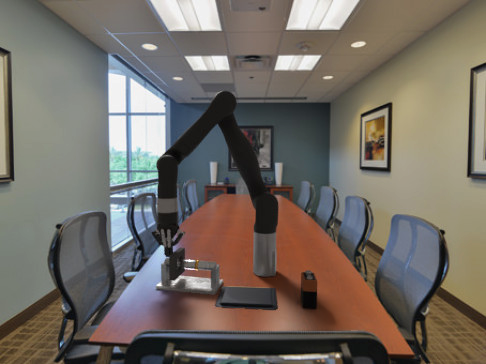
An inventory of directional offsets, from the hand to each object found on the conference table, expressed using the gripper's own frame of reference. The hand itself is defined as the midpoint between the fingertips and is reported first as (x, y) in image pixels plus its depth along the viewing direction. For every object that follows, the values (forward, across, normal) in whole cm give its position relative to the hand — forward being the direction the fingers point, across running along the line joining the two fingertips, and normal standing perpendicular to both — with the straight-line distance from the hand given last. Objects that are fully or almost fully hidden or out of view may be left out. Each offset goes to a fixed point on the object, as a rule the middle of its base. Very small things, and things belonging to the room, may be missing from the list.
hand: (168, 256), depth 102 cm
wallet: (+11, -30, +4) cm, 33 cm away
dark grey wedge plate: (+7, -4, 0) cm, 8 cm away
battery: (+11, -50, +4) cm, 52 cm away
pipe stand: (+10, -8, 0) cm, 13 cm away
